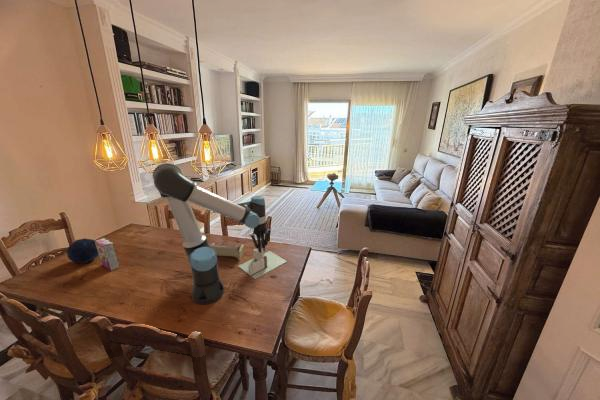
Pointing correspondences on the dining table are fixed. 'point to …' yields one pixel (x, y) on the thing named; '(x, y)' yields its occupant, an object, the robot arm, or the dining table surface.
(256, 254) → the fence hinged panel
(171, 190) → the robot arm
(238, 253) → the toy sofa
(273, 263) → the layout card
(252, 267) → the fence fixed panel
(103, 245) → the candy bar box
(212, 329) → the dining table surface
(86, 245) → the decorative orb
